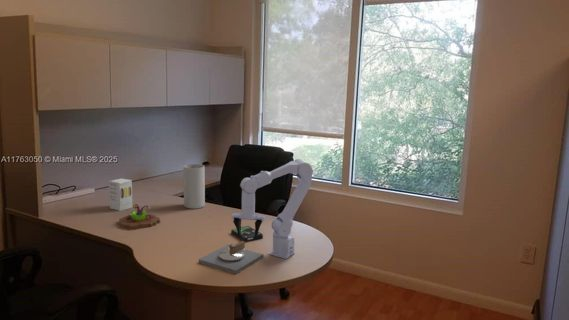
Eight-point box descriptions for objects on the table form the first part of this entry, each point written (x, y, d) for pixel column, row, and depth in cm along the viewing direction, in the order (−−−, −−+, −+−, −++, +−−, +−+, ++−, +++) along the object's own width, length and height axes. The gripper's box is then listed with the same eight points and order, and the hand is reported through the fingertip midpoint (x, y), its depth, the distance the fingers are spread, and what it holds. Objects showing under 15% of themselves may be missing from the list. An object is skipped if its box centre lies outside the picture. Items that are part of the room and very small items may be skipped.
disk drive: (263, 239, 218) (248, 230, 230) (263, 234, 218) (248, 225, 230) (245, 243, 212) (230, 233, 224) (245, 238, 212) (230, 228, 224)
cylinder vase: (207, 204, 273) (207, 164, 269) (200, 209, 261) (200, 168, 257) (188, 202, 275) (188, 163, 271) (180, 208, 263) (179, 167, 259)
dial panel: (263, 257, 195) (263, 254, 195) (236, 274, 178) (236, 270, 178) (227, 247, 205) (227, 244, 205) (198, 262, 188) (198, 258, 188)
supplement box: (120, 211, 255) (118, 183, 251) (109, 208, 259) (108, 180, 256) (133, 207, 263) (132, 179, 260) (122, 204, 267) (121, 177, 264)
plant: (112, 223, 235) (111, 203, 233) (145, 215, 250) (144, 196, 247) (131, 232, 222) (130, 211, 220) (164, 223, 236) (164, 203, 234)
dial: (234, 263, 184) (234, 252, 183) (213, 257, 189) (213, 246, 188) (253, 252, 196) (253, 242, 195) (233, 247, 201) (233, 237, 200)
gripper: (266, 204, 193) (266, 233, 195) (234, 201, 195) (234, 230, 198) (262, 208, 186) (262, 239, 188) (230, 206, 188) (229, 236, 191)
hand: (247, 235), depth 193 cm, fingers open, 7 cm apart
